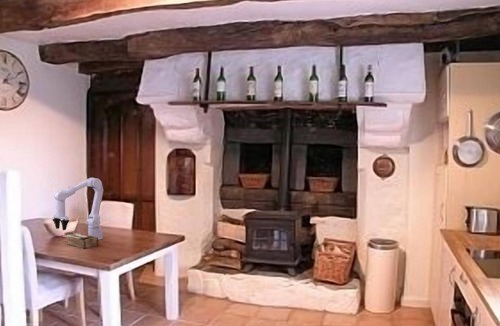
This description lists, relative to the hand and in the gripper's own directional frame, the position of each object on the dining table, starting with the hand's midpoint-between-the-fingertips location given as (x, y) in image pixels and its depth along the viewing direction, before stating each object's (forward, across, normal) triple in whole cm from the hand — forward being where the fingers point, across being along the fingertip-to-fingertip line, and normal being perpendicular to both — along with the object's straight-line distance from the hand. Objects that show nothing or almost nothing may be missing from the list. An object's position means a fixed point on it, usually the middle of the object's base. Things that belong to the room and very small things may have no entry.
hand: (61, 229), depth 323 cm
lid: (+5, +7, +6) cm, 11 cm away
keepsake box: (+10, +15, +6) cm, 19 cm away
